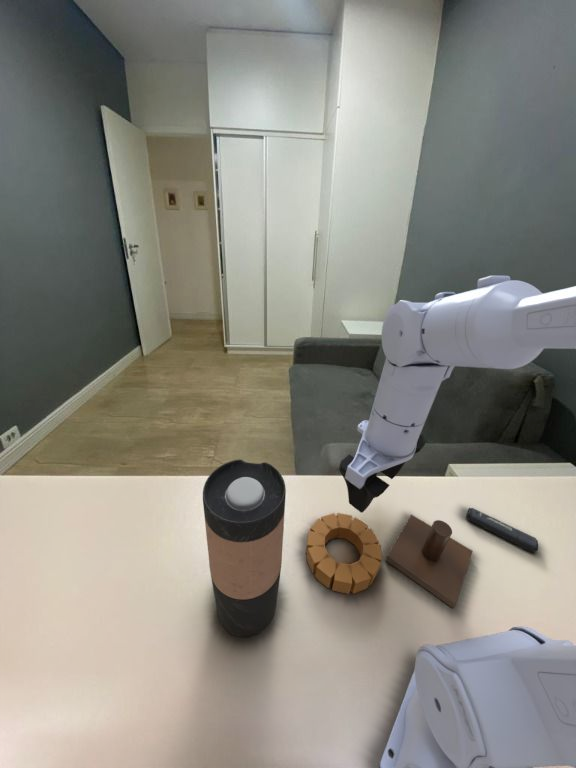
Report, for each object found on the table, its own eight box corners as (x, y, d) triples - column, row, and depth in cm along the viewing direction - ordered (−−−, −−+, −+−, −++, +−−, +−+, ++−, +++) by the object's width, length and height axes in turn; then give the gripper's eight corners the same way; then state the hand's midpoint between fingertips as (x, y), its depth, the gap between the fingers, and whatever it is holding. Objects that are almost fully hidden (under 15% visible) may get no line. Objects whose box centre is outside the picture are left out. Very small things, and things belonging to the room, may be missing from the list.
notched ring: (355, 611, 37) (358, 601, 36) (291, 557, 43) (292, 547, 42) (389, 552, 44) (393, 542, 43) (331, 512, 50) (333, 502, 48)
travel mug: (236, 658, 33) (229, 542, 23) (203, 596, 38) (186, 480, 28) (291, 608, 37) (304, 493, 27) (255, 559, 42) (256, 447, 32)
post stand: (452, 608, 38) (471, 578, 35) (385, 560, 43) (396, 529, 40) (469, 555, 44) (487, 526, 41) (409, 519, 49) (420, 489, 46)
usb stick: (535, 543, 47) (539, 536, 46) (535, 556, 45) (539, 550, 44) (467, 510, 51) (470, 503, 51) (464, 520, 50) (467, 514, 49)
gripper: (397, 373, 41) (374, 447, 48) (330, 420, 32) (315, 502, 39) (451, 397, 37) (417, 473, 44) (392, 458, 28) (362, 541, 35)
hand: (372, 489), depth 41 cm, fingers open, 7 cm apart
